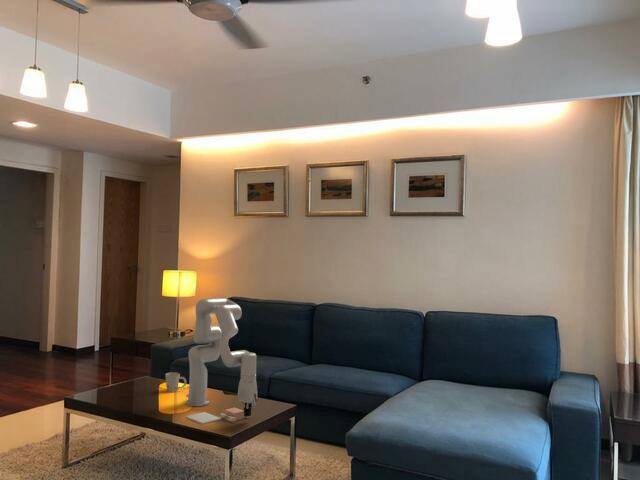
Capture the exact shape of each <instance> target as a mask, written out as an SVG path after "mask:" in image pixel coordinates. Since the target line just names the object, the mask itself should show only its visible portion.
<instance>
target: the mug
mask: <svg viewBox="0 0 640 480" xmlns="http://www.w3.org/2000/svg"><path fill="white" fill-rule="evenodd" d="M164 377H165V384H166V385H165V386H166V387H165V388H166V392H168V393H176V392H177V391H178V389H183V388H185V387H186V386H187V379H186V377H184V376H181V373H180V372H176V371H175V372H167V373H165V376H164ZM180 380H182V381H183V382H184V383H183V385H182V386H179V383H180ZM175 391H176V392H175Z"/></svg>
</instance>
